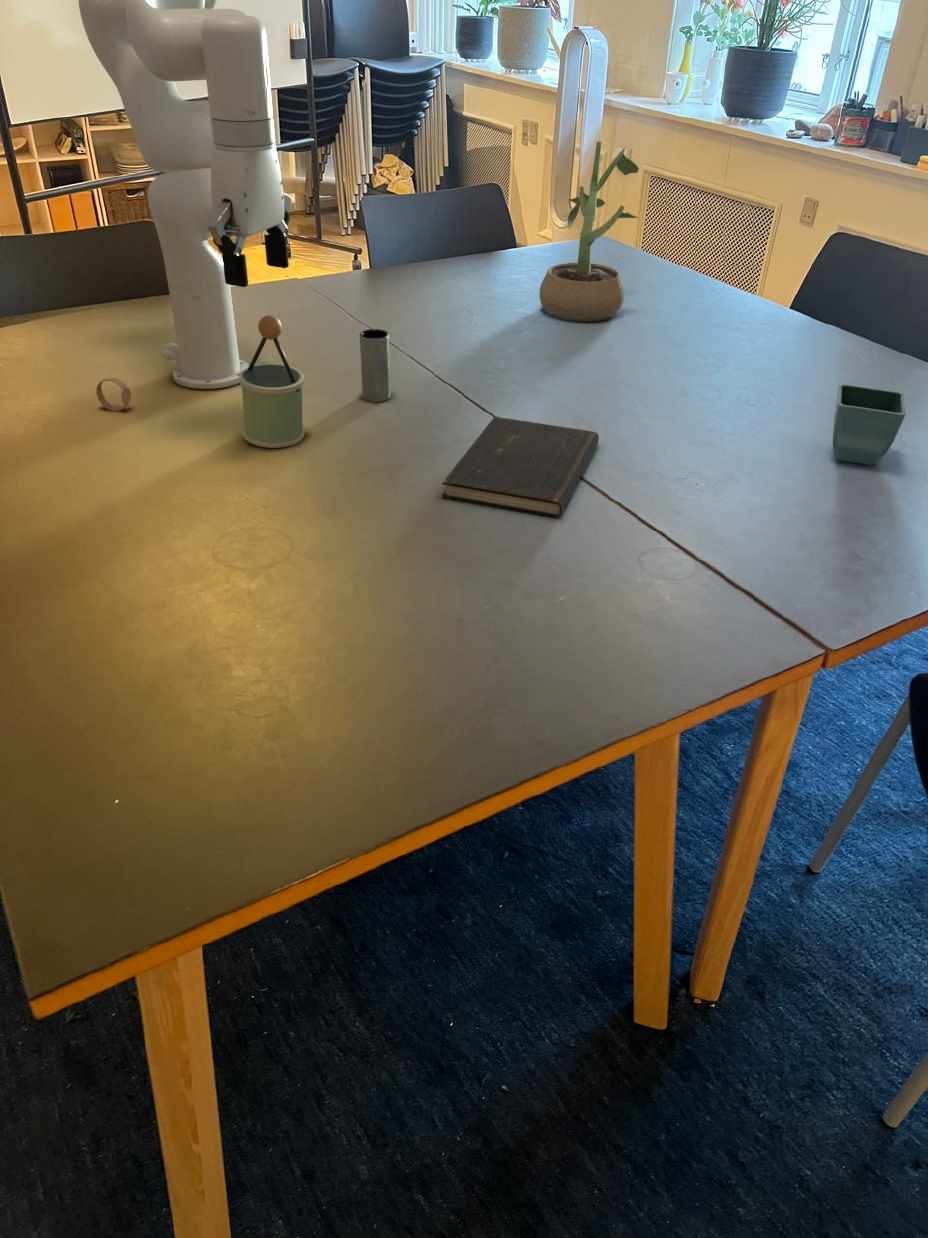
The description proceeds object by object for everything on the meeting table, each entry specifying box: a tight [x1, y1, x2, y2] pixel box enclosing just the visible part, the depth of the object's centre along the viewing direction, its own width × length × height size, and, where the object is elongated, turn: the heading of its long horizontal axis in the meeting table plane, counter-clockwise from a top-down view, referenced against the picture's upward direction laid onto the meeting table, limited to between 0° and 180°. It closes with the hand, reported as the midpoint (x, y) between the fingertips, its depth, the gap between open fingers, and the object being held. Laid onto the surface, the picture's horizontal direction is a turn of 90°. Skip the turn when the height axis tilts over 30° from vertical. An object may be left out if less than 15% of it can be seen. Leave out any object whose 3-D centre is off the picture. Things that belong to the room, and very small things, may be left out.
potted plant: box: [539, 141, 640, 323], centre depth 185 cm, size 22×18×30 cm
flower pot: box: [832, 383, 907, 466], centre depth 135 cm, size 9×9×9 cm
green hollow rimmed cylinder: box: [239, 314, 306, 449], centre depth 134 cm, size 18×9×9 cm
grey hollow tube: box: [359, 328, 392, 403], centre depth 150 cm, size 4×4×10 cm
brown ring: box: [95, 376, 132, 412], centre depth 146 cm, size 3×5×5 cm, turn 78°
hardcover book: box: [441, 416, 600, 518], centre depth 131 cm, size 16×23×2 cm
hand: (258, 275), depth 127 cm, fingers open, 9 cm apart
